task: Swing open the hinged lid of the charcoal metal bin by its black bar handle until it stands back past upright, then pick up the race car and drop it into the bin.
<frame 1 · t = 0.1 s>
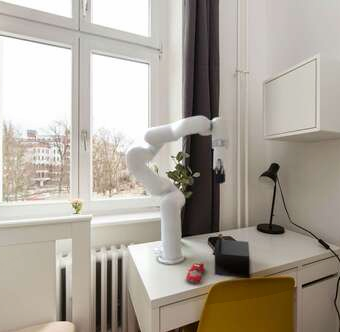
hand: (220, 182, 99), 37 cm above the table, tool pointing down, fingers open, 9 cm apart
bin lid: (231, 242, 96), point 11 cm above the table, hinge at 0.0°
race car: (196, 276, 87), on the table
bin: (233, 266, 95), on the table
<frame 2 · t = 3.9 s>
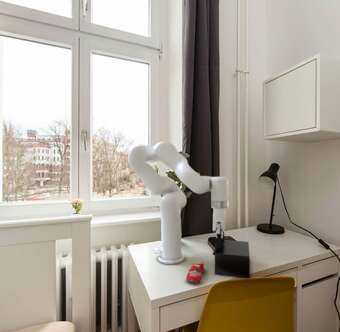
hand: (220, 244, 97), 9 cm above the table, tool pointing down, fingers closed on bin lid, 5 cm apart
bin lid: (231, 242, 96), point 11 cm above the table, hinge at 0.0°, touching gripper
everything else where it was.
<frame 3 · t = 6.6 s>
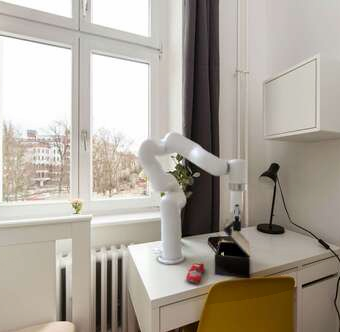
hand: (237, 228, 95), 17 cm above the table, tool pointing down, fingers closed on bin lid, 5 cm apart
bin lid: (240, 232, 95), point 15 cm above the table, hinge at 46.4°, touching gripper
everything else where it was.
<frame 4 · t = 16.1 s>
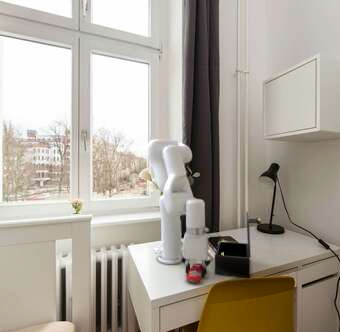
hand: (196, 275, 87), 0 cm above the table, tool pointing down, fingers closed on race car, 5 cm apart
bin lid: (254, 232, 93), point 16 cm above the table, hinge at 88.4°
race car: (196, 276, 87), on the table, touching gripper
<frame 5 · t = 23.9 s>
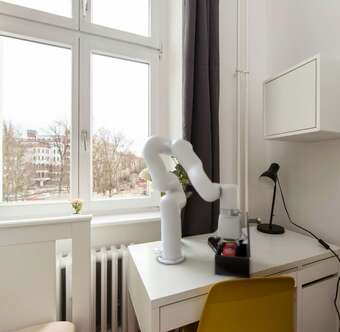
hand: (229, 253, 96), 6 cm above the table, tool pointing down, fingers closed on race car, 5 cm apart
race car: (229, 254, 96), point 5 cm above the table, touching gripper
everything else where it was.
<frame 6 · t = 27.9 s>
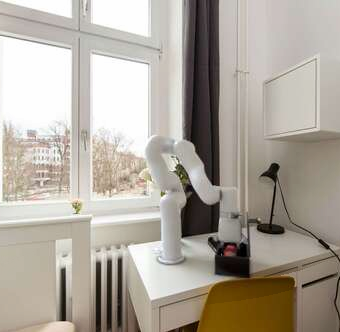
hand: (230, 255, 96), 5 cm above the table, tool pointing down, fingers closed on race car, 5 cm apart
race car: (230, 257, 96), point 4 cm above the table, touching gripper
everything else where it was.
when the fingers open (7 cm above the table, at t = 37.6 s): race car drops 6 cm, resting on bin.
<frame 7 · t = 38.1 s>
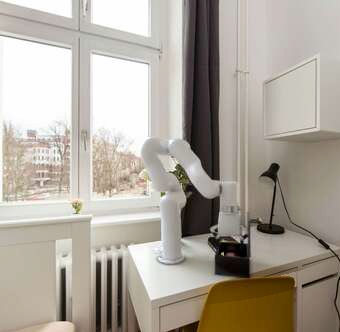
hand: (229, 248, 96), 8 cm above the table, tool pointing down, fingers open, 9 cm apart
bin lid: (254, 232, 93), point 15 cm above the table, hinge at 90.3°, touching gripper
race car: (230, 265, 95), point 1 cm above the table, touching bin
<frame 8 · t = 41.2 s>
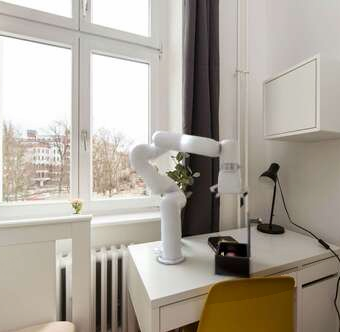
hand: (229, 206, 96), 26 cm above the table, tool pointing down, fingers open, 9 cm apart
bin lid: (254, 232, 93), point 15 cm above the table, hinge at 90.4°
everything else where it was.
at the end: bin lid at +90° (first picture: +0°); race car inside the target area in the bin (1.2 cm from its centre), point 0.6 cm above the bin's base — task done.
